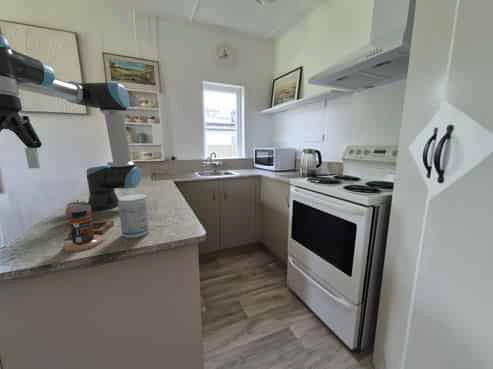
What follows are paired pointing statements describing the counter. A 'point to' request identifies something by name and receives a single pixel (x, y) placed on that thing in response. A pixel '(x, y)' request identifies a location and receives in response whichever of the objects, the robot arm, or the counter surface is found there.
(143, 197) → the supplement tub
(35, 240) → the counter surface
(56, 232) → the counter surface
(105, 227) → the holder
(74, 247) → the peach dome coaster
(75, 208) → the decorative fruit
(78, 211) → the supplement bottle
